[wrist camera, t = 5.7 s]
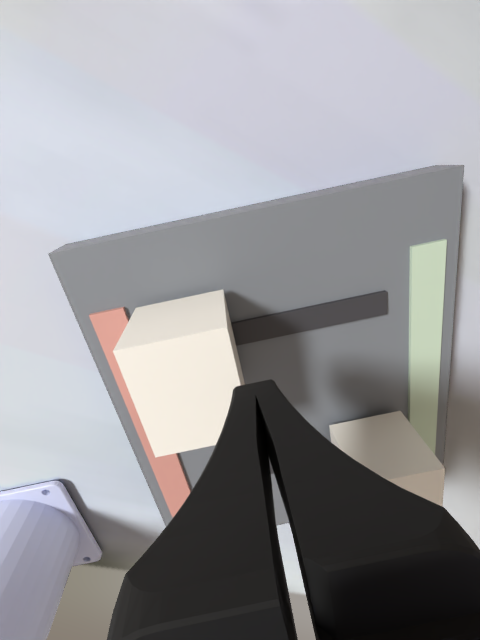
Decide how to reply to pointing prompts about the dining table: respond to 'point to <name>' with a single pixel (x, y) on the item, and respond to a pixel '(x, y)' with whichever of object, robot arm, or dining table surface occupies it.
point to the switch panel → (294, 304)
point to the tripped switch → (181, 370)
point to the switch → (392, 453)
